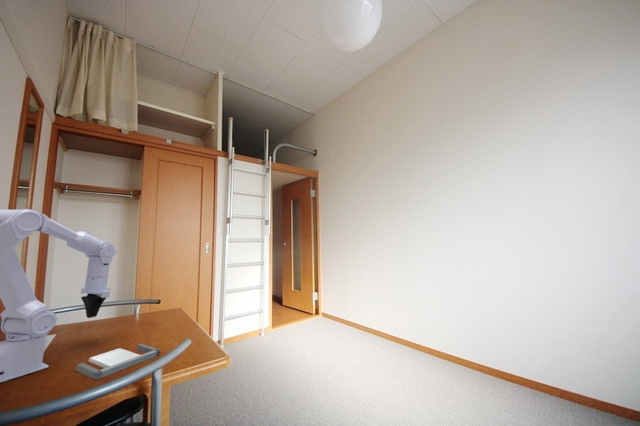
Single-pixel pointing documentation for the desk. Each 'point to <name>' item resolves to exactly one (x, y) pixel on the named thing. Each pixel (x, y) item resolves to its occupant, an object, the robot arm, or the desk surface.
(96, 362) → the hard drive
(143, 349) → the drive bay
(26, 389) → the desk surface
